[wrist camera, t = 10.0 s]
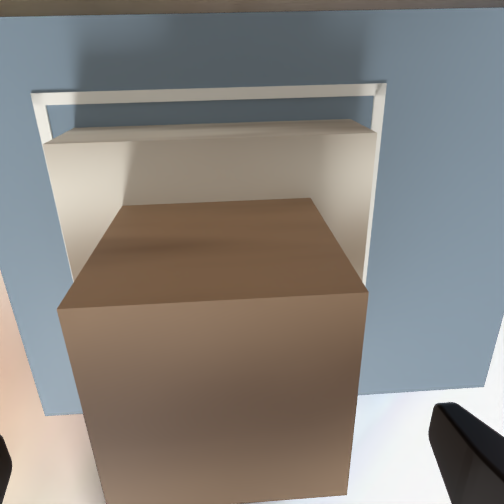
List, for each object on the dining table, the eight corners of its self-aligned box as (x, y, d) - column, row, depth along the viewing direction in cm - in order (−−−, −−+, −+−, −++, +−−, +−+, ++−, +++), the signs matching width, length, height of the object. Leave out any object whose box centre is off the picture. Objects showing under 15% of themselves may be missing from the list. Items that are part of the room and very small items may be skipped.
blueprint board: (477, 378, 22) (484, 388, 22) (49, 406, 21) (44, 417, 21) (574, 7, 15) (589, 5, 15) (-66, 19, 14) (-79, 18, 13)
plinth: (333, 340, 20) (351, 385, 17) (117, 353, 20) (101, 401, 17) (350, 118, 16) (377, 132, 13) (73, 127, 15) (42, 144, 13)
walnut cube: (304, 347, 16) (346, 495, 11) (146, 357, 16) (108, 513, 11) (310, 197, 14) (368, 292, 8) (122, 205, 14) (56, 309, 8)
